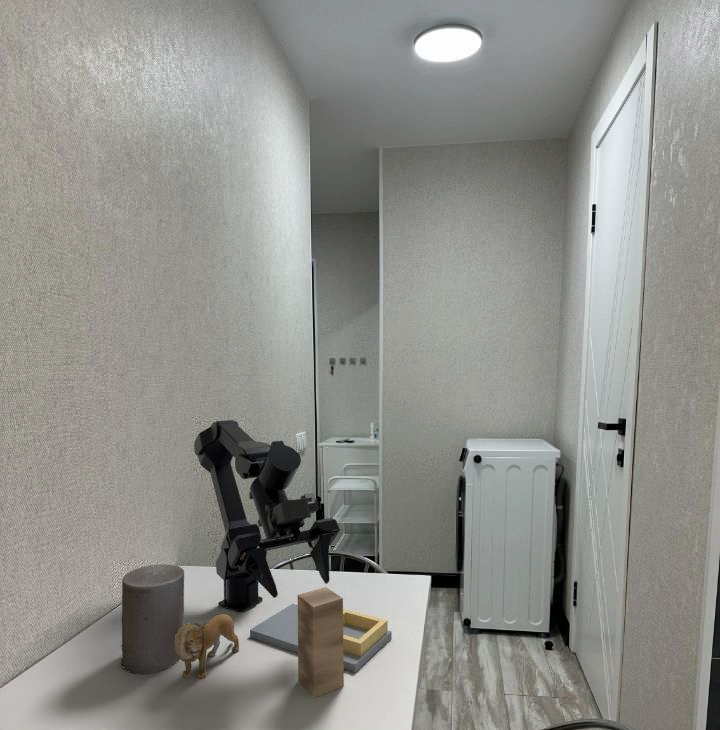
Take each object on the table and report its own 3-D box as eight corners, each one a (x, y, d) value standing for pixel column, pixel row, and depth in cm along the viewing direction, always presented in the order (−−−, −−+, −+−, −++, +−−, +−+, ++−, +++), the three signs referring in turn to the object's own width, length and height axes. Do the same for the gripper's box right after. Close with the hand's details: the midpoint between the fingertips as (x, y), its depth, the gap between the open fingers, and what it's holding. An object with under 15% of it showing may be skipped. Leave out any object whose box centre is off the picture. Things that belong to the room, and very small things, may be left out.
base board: (250, 636, 93) (249, 618, 93) (292, 609, 103) (292, 593, 103) (355, 672, 81) (355, 651, 81) (391, 638, 91) (391, 619, 91)
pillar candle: (107, 667, 83) (107, 573, 84) (152, 637, 93) (152, 552, 93) (155, 680, 80) (155, 582, 80) (197, 648, 89) (197, 560, 89)
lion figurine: (196, 695, 76) (196, 633, 76) (165, 689, 77) (164, 628, 78) (246, 644, 90) (245, 591, 90) (219, 640, 92) (218, 588, 92)
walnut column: (298, 681, 79) (297, 594, 79) (327, 670, 82) (326, 586, 82) (314, 698, 75) (313, 607, 75) (343, 686, 78) (342, 598, 78)
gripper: (233, 485, 83) (261, 578, 73) (334, 472, 93) (370, 551, 84) (217, 524, 89) (241, 613, 80) (313, 507, 100) (345, 584, 90)
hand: (302, 589), depth 83 cm, fingers open, 9 cm apart
